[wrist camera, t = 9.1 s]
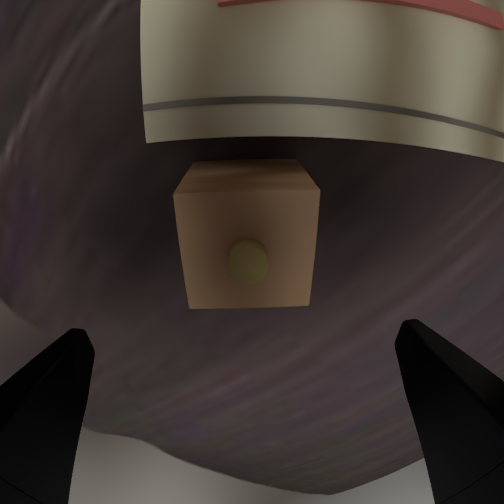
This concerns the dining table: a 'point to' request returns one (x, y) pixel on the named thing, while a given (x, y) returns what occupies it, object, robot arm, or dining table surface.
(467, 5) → the carpenter pencil
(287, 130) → the plank
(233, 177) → the block
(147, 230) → the dining table surface
